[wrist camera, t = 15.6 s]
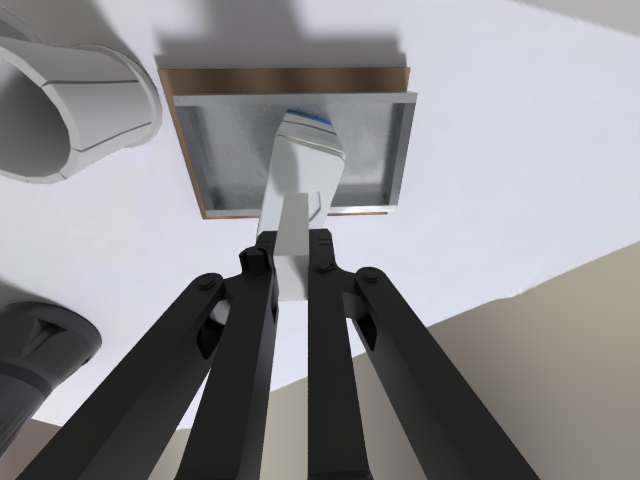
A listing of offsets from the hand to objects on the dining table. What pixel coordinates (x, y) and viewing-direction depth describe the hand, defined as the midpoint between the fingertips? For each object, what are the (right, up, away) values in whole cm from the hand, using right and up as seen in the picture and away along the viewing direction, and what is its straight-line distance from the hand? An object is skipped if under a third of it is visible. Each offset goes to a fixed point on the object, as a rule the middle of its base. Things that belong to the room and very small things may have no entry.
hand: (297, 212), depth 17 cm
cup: (-20, +13, +9) cm, 25 cm away
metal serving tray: (-1, +8, +13) cm, 15 cm away
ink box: (-1, +7, +11) cm, 13 cm away
